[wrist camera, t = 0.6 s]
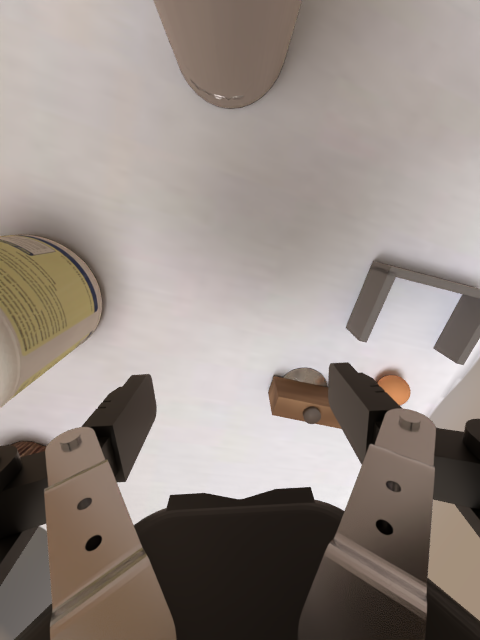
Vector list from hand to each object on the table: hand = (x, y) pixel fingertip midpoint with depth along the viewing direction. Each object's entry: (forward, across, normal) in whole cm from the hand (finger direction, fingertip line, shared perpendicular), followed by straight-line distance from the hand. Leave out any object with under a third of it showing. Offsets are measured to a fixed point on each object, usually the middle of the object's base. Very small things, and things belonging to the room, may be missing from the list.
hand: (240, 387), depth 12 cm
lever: (+18, -11, +13) cm, 24 cm away
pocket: (+18, -18, +2) cm, 26 cm away
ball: (+18, -17, +11) cm, 27 cm away
